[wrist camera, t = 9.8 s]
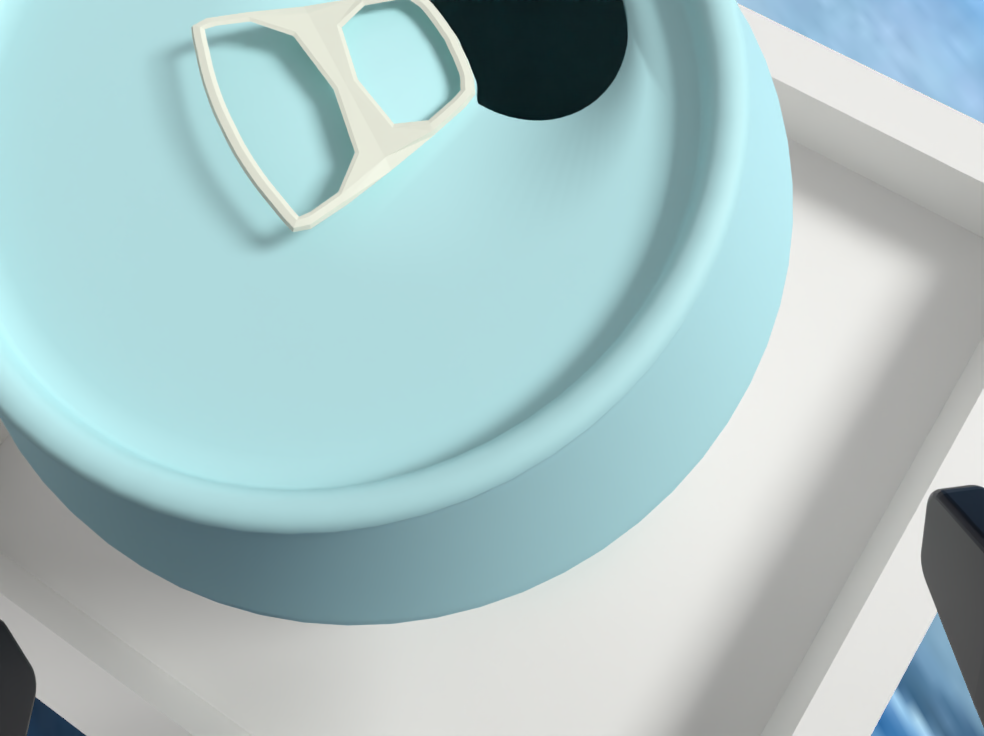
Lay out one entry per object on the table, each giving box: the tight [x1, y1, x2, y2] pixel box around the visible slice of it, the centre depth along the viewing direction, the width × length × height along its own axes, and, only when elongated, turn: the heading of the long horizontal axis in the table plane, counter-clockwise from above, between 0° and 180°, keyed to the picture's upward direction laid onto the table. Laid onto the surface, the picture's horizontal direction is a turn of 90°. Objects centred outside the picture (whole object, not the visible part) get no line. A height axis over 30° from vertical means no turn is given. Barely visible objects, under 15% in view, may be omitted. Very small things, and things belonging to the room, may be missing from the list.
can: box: [0, 0, 793, 626], centre depth 12 cm, size 7×7×12 cm
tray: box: [0, 3, 984, 736], centre depth 17 cm, size 17×17×2 cm
